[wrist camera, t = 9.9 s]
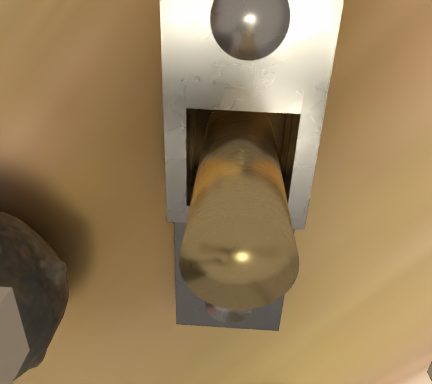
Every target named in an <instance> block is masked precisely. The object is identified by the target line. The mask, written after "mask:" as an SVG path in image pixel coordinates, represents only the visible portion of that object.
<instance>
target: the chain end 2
mask: <svg viewBox="0 0 432 384" xmlns="http://www.w3.org/2000/svg"><path fill="white" fill-rule="evenodd" d="M292 121H293V114H292V113H287V115H286V123H285V131H284V139H283V147H282V155H281V164H280V169H281V174H282V178H283V183H284V181H285V174H286V166H287V159H288V151H289V144H290V136H291V129H292ZM197 170H198V168H195V109H191V187H194V184H195V180H196V175H197ZM185 227H186V223H184V222H174V237H175V282H176V324H181V325H196V326H212V327H227V328H242V329H258V330H273V331H279V325H280V319H281V313H282V306H283V300H284V295H283V296H281V297H280V298H279V299H277V300H275V301H274V302H272V303H270V304H267V305H265V306H262V307H258V308H253V309H245V310H234V309H226V308H221V307H218V306H215V305H212V304H210V303H208V302H206V301H204V300H202V299H201V298H199V297H198V296H197V295H195V294H194V293H193V292H192V291H191V290H190V289H189V288H188V286H187V285H186V283H185V282H184V280H183V278H182V276H181V273H180V269H179V255H180V251H181V246H182V241H183V236H184V232H185ZM294 230H295V229H293V232H294Z"/></svg>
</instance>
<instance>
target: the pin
mask: <svg viewBox="0 0 432 384" xmlns="http://www.w3.org/2000/svg"><path fill="white" fill-rule="evenodd" d="M179 269H180V273H181V276H182V278H183V280H184V282H185V283H186V285H187V286H188V288H189V289H190V290H191V291H192V292H193V293H194V294H195V295H197V296H198V297H199V298H201V299H202V300H204V301H206V302H208V303H210V304H212V305H215V306H218V307H221V308H226V309H234V310H245V309H253V308H258V307H262V306H265V305H267V304H270V303H272V302H274V301H275V300H277V299H279V298H280V297H281V296H283V295H284V294H285V293H286V292H287V291H288V290H289V289H290V288H291V286H292V285H293V283H294V281H295V279H296V277H297V274H298V270H299V257H298V252H297V247H296V242H295V237H294V232H293V228H292V223H291V218H290V213H289V208H288V203H287V198H286V193H285V188H284V183H283V178H282V174H281V169H280V164H279V159H278V154H277V149H276V144H275V139H274V134H273V129H272V124H271V120H270V118H269V116H268V114H267V113H266V112H251V111H231V110H214V111H213V112H212V114H211V116H210V117H209V120H208V123H207V128H206V132H205V137H204V142H203V146H202V151H201V156H200V161H199V165H198V170H197V175H196V180H195V184H194V189H193V194H192V199H191V203H190V208H189V213H188V217H187V222H186V227H185V232H184V236H183V241H182V246H181V251H180V255H179Z"/></svg>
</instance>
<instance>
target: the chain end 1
mask: <svg viewBox="0 0 432 384" xmlns="http://www.w3.org/2000/svg"><path fill="white" fill-rule="evenodd" d="M343 2H344V0H160V23H161V53H162V84H163V114H164V145H165V175H166V206H167V222H184V223H186V222H187V217H188V213H189V208H190V203H191V199H192V194H193V189H194V187H191V109H210V110H231V111H251V112H272V113H292V114H293V121H292V129H291V136H290V144H289V151H288V159H287V166H286V174H285V181H284V188H285V193H286V198H287V203H288V208H289V213H290V218H291V223H292V228H293V229H305V223H306V217H307V211H308V205H309V200H310V194H311V188H312V182H313V176H314V171H315V165H316V159H317V153H318V147H319V142H320V136H321V130H322V124H323V118H324V113H325V107H326V101H327V95H328V89H329V84H330V78H331V72H332V66H333V60H334V55H335V49H336V43H337V37H338V31H339V26H340V20H341V14H342V8H343Z"/></svg>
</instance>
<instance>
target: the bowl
mask: <svg viewBox="0 0 432 384" xmlns="http://www.w3.org/2000/svg"><path fill="white" fill-rule="evenodd" d="M66 274H67V265H66V264H65V263H64V262H63V261H61V260H60V259H59V258H58V256H57V254H56V253H55V251H54V250H53V249H52V248H51V246H50V245H48V244H47V243H46V242H45V240H44V239H43V238H42V237H41V236H40V235H39V234H37V233H36V232H35V231H34V230H33V229H31V228H30V227H29V226H28V225H27V224H25V223H24V222H23V221H21V220H20V219H18V218H17V217H15V216H13V215H10V214H7V213H5V212H2V211H0V287H12V289H13V293H14V296H15V300H16V303H17V307H18V310H19V314H20V318H21V321H22V325H23V328H24V332H25V336H26V339H27V343H28V346H29V350H30V351H29V353H28V354H27V356H26V358H25V360H24V362H23V364H22V366H21V367H20V369H19V371H18V373H17V375H16V377H15V378H14V380H15V379H17V378H18V377H19V376H21V375H22V374H23V373H24V372H26V371H27V370H28V369H31V368H34V367H37V366H38V365H39V364H40V363H41V362H42V361H43V359H44V356H45V354H46V351H47V348H48V346H49V344H50V342H51V340H52V338H53V336H54V334H55V332H56V330H57V328H58V326H59V324H60V322H61V320H62V318H63V315H64V312H65V309H66V306H67V302H68V297H69V288H68V281H67V278H66ZM14 380H13V381H14Z"/></svg>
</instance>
